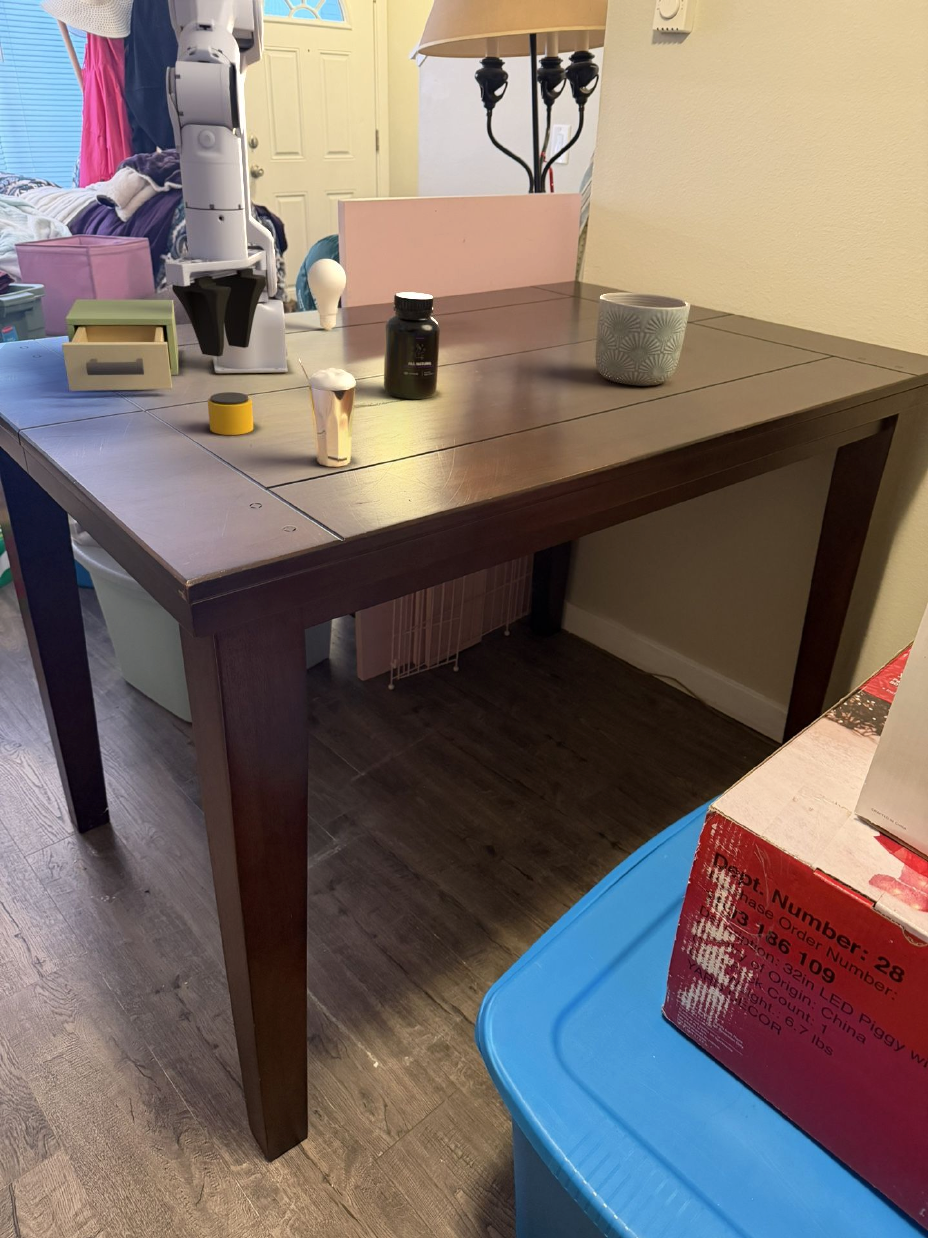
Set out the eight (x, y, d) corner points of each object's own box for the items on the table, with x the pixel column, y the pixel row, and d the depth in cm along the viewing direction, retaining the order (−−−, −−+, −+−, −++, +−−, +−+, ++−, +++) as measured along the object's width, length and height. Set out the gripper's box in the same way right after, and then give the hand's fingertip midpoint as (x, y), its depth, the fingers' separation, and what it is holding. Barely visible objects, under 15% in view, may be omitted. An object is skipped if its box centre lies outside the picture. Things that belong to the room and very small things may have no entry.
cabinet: (178, 374, 114) (172, 318, 111) (74, 376, 111) (65, 318, 107) (178, 351, 125) (172, 299, 122) (84, 352, 122) (76, 298, 119)
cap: (252, 421, 98) (249, 390, 96) (254, 434, 94) (252, 402, 92) (209, 423, 97) (206, 391, 95) (210, 435, 93) (207, 403, 91)
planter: (573, 376, 125) (582, 296, 119) (621, 365, 133) (632, 289, 128) (646, 395, 118) (659, 311, 112) (692, 382, 126) (707, 302, 121)
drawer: (171, 398, 101) (166, 351, 99) (65, 400, 98) (57, 352, 96) (172, 364, 115) (168, 322, 112) (79, 365, 112) (73, 322, 109)
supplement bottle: (417, 403, 108) (420, 302, 102) (373, 393, 111) (373, 294, 105) (447, 392, 113) (451, 295, 107) (404, 383, 116) (406, 288, 110)
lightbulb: (339, 335, 141) (338, 262, 136) (304, 331, 142) (301, 259, 137) (351, 328, 146) (350, 258, 141) (316, 324, 147) (314, 254, 142)
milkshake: (304, 453, 89) (300, 354, 85) (356, 454, 90) (356, 356, 85) (301, 468, 85) (297, 365, 81) (355, 469, 86) (355, 367, 81)
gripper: (222, 201, 92) (232, 333, 98) (131, 207, 80) (149, 358, 86) (280, 206, 90) (286, 341, 96) (196, 214, 78) (209, 368, 84)
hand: (225, 350), depth 91 cm, fingers open, 4 cm apart
